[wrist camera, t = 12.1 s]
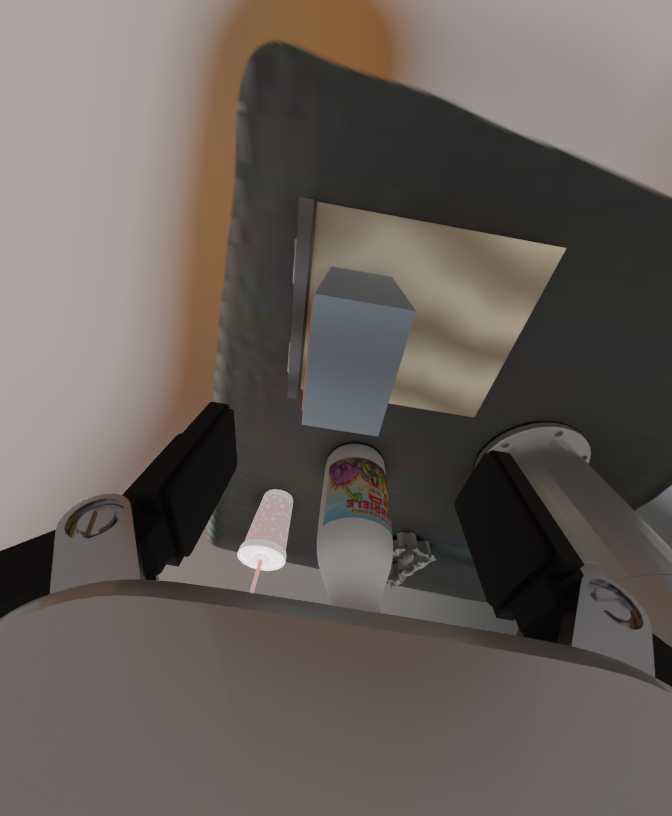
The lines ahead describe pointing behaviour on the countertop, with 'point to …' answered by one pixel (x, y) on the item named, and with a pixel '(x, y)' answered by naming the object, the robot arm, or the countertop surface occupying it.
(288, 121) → the countertop surface
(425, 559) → the egg carton
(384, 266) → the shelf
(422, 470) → the countertop surface
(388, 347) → the carton
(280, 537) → the beverage cup
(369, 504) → the milk bottle
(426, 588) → the countertop surface
